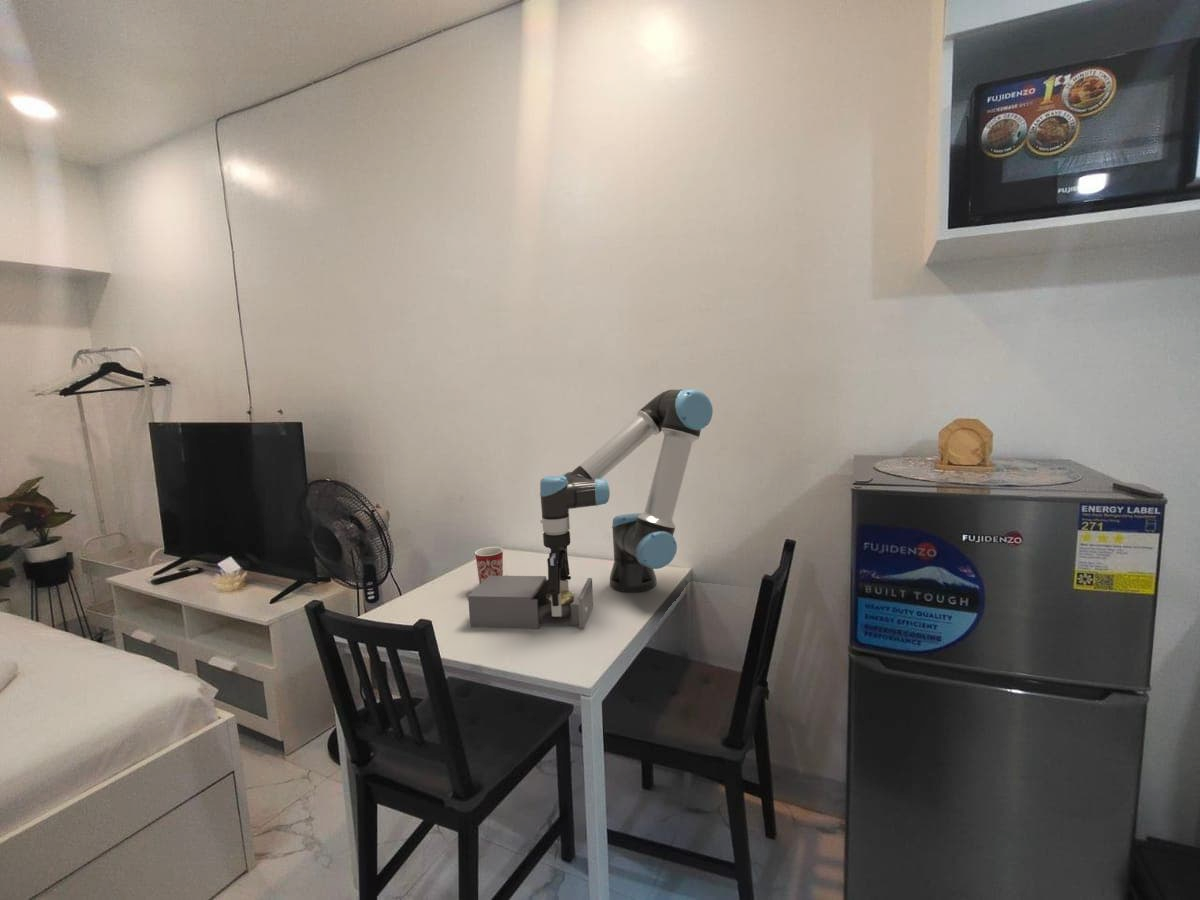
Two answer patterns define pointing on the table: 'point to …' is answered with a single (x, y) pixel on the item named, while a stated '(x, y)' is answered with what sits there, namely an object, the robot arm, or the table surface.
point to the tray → (558, 621)
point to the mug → (489, 562)
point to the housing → (508, 602)
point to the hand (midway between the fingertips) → (560, 608)
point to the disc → (562, 598)
